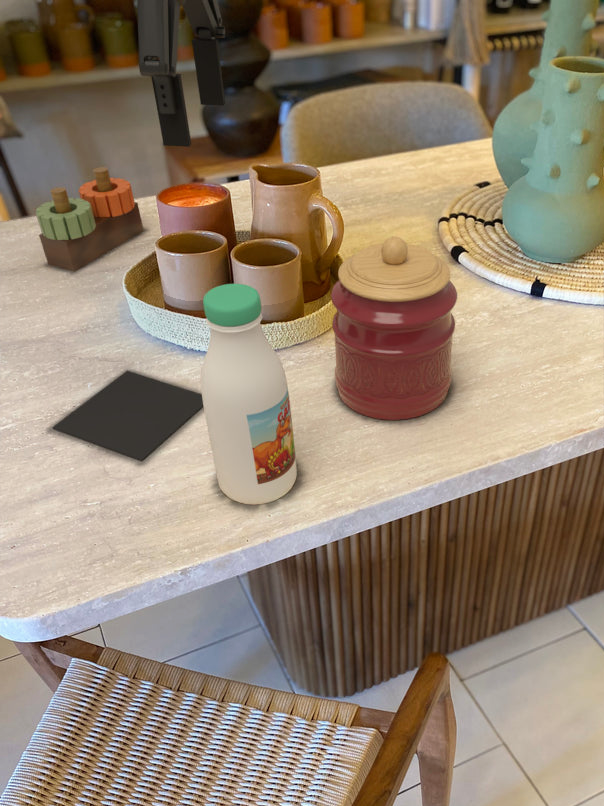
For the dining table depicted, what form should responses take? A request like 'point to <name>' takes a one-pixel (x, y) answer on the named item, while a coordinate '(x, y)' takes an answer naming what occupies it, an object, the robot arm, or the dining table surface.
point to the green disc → (66, 220)
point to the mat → (132, 415)
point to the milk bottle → (246, 400)
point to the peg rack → (98, 241)
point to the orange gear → (108, 198)
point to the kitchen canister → (393, 330)
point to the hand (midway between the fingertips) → (196, 123)
